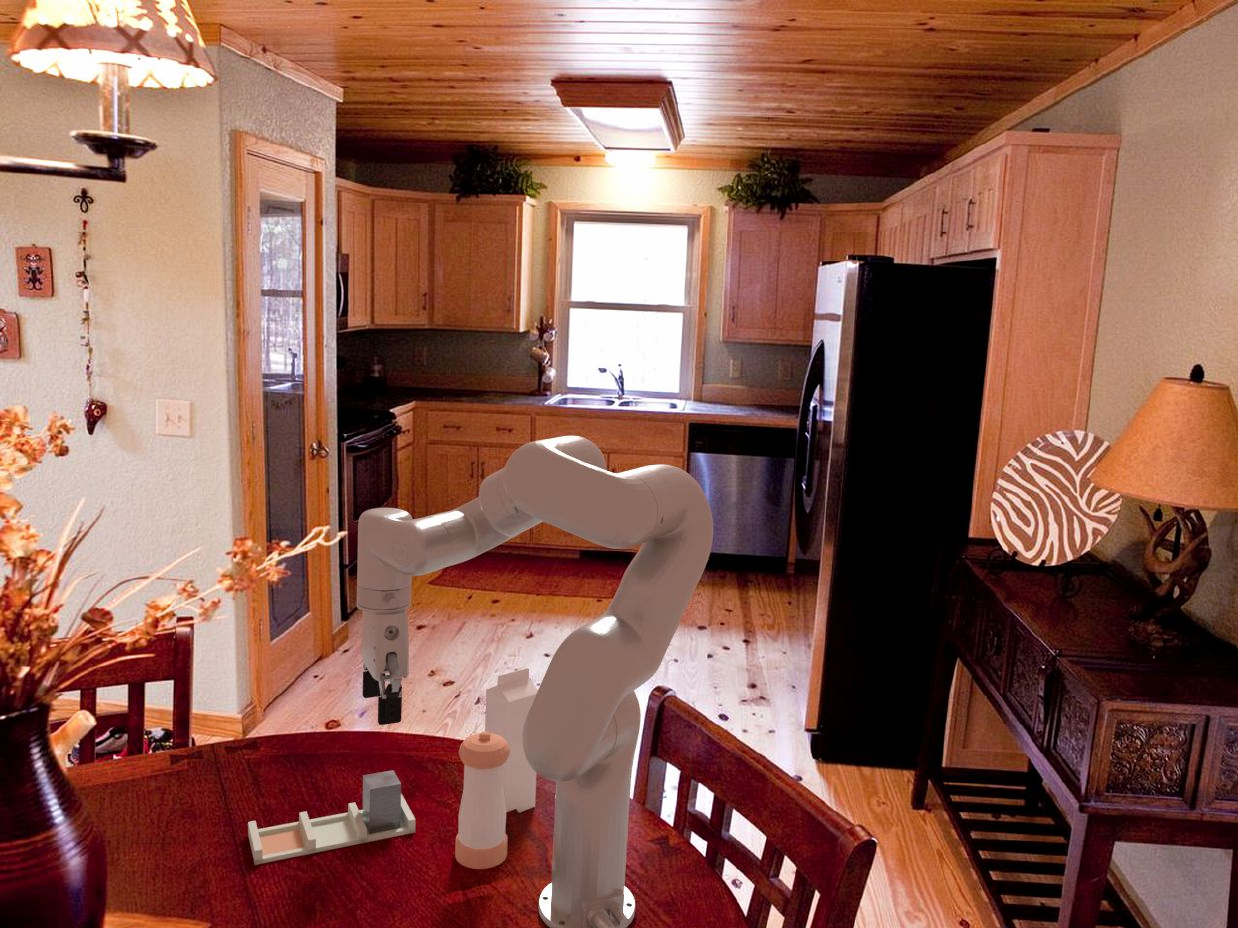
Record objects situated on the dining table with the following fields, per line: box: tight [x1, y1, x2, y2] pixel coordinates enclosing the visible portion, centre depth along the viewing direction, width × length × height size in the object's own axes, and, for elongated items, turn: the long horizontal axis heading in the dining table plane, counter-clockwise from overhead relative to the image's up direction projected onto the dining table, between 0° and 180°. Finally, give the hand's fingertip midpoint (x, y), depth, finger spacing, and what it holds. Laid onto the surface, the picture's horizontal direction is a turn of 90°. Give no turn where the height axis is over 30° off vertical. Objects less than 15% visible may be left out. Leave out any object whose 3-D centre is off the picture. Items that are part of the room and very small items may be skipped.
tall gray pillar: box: [362, 769, 402, 834], centre depth 140 cm, size 4×4×7 cm
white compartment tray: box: [247, 793, 416, 866], centre depth 138 cm, size 8×22×3 cm, turn 117°
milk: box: [484, 667, 538, 813], centre depth 148 cm, size 6×6×22 cm
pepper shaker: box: [454, 730, 510, 870], centre depth 133 cm, size 7×7×19 cm
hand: (381, 709), depth 138 cm, fingers open, 9 cm apart
